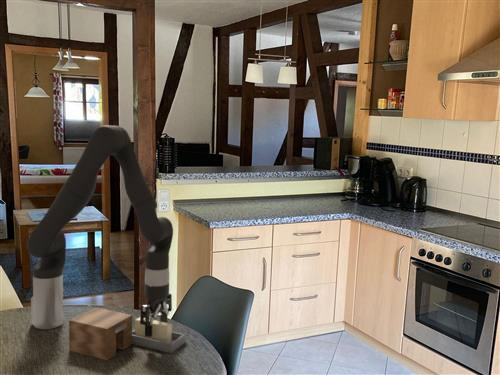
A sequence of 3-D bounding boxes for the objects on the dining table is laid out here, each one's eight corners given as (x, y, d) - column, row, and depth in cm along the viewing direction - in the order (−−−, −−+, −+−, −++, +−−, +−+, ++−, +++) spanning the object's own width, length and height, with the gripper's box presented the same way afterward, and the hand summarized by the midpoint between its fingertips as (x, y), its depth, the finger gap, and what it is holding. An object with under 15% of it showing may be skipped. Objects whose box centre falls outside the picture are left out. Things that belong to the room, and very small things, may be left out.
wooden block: (69, 350, 147) (69, 320, 146) (95, 335, 158) (95, 307, 157) (108, 360, 142) (108, 329, 141) (133, 344, 153) (133, 315, 152)
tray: (126, 342, 154) (126, 334, 154) (142, 332, 162) (142, 324, 162) (171, 353, 148) (171, 344, 148) (185, 342, 156) (185, 334, 155)
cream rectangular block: (134, 337, 156) (135, 319, 156) (139, 334, 159) (139, 316, 158) (167, 345, 152) (167, 326, 151) (171, 342, 154) (171, 323, 154)
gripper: (159, 273, 161) (158, 321, 162) (133, 285, 147) (132, 337, 149) (179, 277, 158) (178, 325, 160) (154, 289, 145) (153, 342, 147)
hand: (156, 331), depth 154 cm, fingers open, 8 cm apart
